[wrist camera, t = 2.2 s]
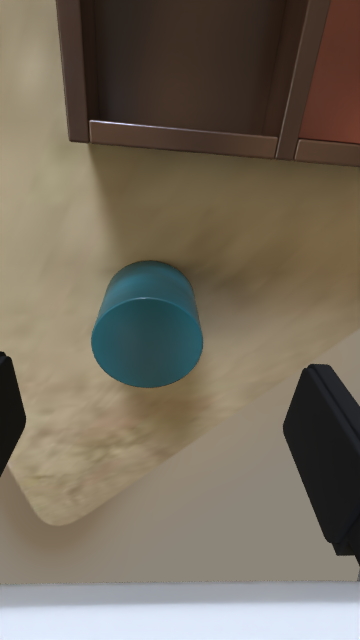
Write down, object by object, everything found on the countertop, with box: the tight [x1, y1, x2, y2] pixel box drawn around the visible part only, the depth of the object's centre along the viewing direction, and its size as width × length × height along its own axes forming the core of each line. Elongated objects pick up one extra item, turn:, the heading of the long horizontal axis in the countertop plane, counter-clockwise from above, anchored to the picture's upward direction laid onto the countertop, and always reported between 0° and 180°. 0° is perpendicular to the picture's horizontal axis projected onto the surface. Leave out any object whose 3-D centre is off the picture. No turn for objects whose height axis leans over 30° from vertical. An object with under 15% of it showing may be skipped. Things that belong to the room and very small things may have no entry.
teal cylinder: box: [91, 261, 203, 388], centre depth 13 cm, size 4×4×4 cm
